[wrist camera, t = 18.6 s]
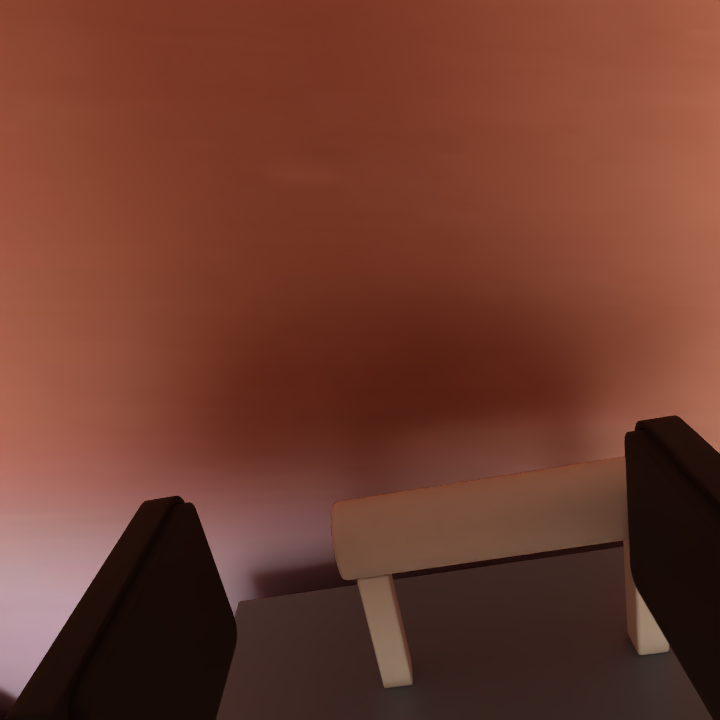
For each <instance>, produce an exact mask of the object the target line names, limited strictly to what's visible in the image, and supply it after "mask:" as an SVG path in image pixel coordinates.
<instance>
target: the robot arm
mask: <svg viewBox="0 0 720 720" xmlns="http://www.w3.org/2000/svg"><path fill="white" fill-rule="evenodd" d="M625 462H626V484H627V507H628V530H629V552H630V569H631V574H632V577H633V581H634V583H635V586H636V588H637V590H638V592H639V594H640V595H641V597H642V599H643V601H644V602H645V604H646V606H647V607H648V609H649V611H650V613H651V614H652V616H653V618H654V619H655V621H656V623H657V625H658V626H659V628H660V630H661V631H662V633H663V635H664V637H665V638H666V640H667V642H668V643H669V645H670V647H671V649H672V650H673V652H674V654H675V655H676V657H677V659H678V661H679V662H680V664H681V666H682V667H683V669H684V671H685V673H686V674H687V676H688V678H689V679H690V681H691V683H692V685H693V686H694V688H695V690H696V691H697V693H698V695H699V697H700V698H701V700H702V702H703V703H704V705H705V707H706V709H707V710H708V712H709V714H710V715H711V717H712V719H713V720H720V454H719V453H718V452H717V451H716V450H715V449H714V448H713V447H712V446H711V445H710V444H708V443H707V442H706V441H705V440H704V439H703V438H702V437H701V436H700V435H699V434H697V433H696V432H695V431H694V430H693V429H692V428H691V427H690V426H689V425H688V424H686V423H685V422H684V421H683V420H682V419H681V418H680V417H678V416H667V417H661V418H655V419H648V420H642V421H638V422H637V423H636V426H635V431H631V432H627V433H626V435H625ZM236 643H237V625H236V621H235V618H234V615H233V612H232V609H231V607H230V604H229V601H228V598H227V595H226V593H225V590H224V587H223V584H222V581H221V578H220V576H219V573H218V570H217V567H216V564H215V562H214V559H213V556H212V553H211V550H210V547H209V545H208V542H207V539H206V536H205V533H204V531H203V528H202V525H201V522H200V519H199V516H198V514H197V511H196V508H195V506H194V505H193V504H192V503H190V502H188V503H185V502H184V500H183V499H182V498H181V497H179V496H172V497H166V498H160V499H154V500H148V501H144V502H143V504H142V505H141V506H140V507H139V509H138V511H137V512H136V514H135V515H134V517H133V518H132V520H131V522H130V523H129V525H128V526H127V528H126V529H125V531H124V533H123V534H122V536H121V537H120V539H119V540H118V542H117V544H116V545H115V547H114V548H113V550H112V551H111V553H110V555H109V556H108V558H107V559H106V561H105V562H104V564H103V566H102V567H101V569H100V570H99V572H98V573H97V575H96V577H95V578H94V580H93V581H92V583H91V584H90V586H89V588H88V589H87V591H86V592H85V594H84V595H83V597H82V598H81V600H80V602H79V603H78V605H77V606H76V608H75V609H74V611H73V613H72V614H71V616H70V617H69V619H68V620H67V622H66V624H65V625H64V627H63V628H62V630H61V631H60V633H59V635H58V636H57V638H56V639H55V641H54V642H53V644H52V646H51V647H50V649H49V650H48V652H47V653H46V655H45V657H44V658H43V660H42V661H41V663H40V664H39V666H38V668H37V669H36V671H35V672H34V674H33V675H32V677H31V679H30V680H29V682H28V683H27V685H26V686H25V688H24V689H23V691H22V693H21V694H20V696H19V697H18V699H17V700H16V702H15V704H14V705H13V707H12V708H11V710H10V711H9V713H8V715H7V716H6V720H216V717H217V714H218V710H219V706H220V703H221V699H222V695H223V692H224V688H225V684H226V681H227V677H228V673H229V670H230V666H231V662H232V659H233V655H234V651H235V648H236Z"/></svg>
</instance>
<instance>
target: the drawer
mask: <svg viewBox="0 0 720 720" xmlns="http://www.w3.org/2000/svg"><path fill="white" fill-rule="evenodd" d="M331 533H332V543H333V549H334V555H335V560H336V564H337V567H338V570H339V573H340V575H341V577H342V578H343V579H345V580H352V579H357V583H358V585H352V586H345V587H338V588H331V589H324V590H317V591H310V592H303V593H296V594H289V595H282V596H275V597H268V598H261V599H254V600H247V601H241V602H239V604H238V607H237V610H236V614H235V617H234V618H235V621H236V625H237V643H236V648H235V651H234V655H233V659H232V662H231V666H230V670H229V673H228V677H227V681H226V684H225V688H224V692H223V695H222V699H221V703H220V706H219V710H218V714H217V717H216V720H713V719H712V717H711V715H710V714H709V712H708V710H707V709H706V707H705V705H704V703H703V702H702V700H701V698H700V697H699V695H698V693H697V691H696V690H695V688H694V686H693V685H692V683H691V681H690V679H689V678H688V676H687V674H686V673H685V671H684V669H683V667H682V666H681V664H680V662H679V661H678V659H677V657H676V655H675V654H674V652H673V650H672V649H671V647H670V645H669V643H668V642H667V640H666V638H665V637H664V635H663V633H662V631H661V630H660V628H659V626H658V625H657V623H656V621H655V619H654V618H653V616H652V614H651V613H650V611H649V609H648V607H647V606H646V604H645V602H644V601H643V599H642V597H641V595H640V594H639V592H638V590H637V588H636V586H635V583H634V581H633V577H632V574H631V569H630V552H629V530H628V507H627V484H626V462H625V456H624V457H618V458H611V459H605V460H599V461H592V462H586V463H580V464H573V465H567V466H561V467H554V468H548V469H541V470H535V471H529V472H522V473H516V474H510V475H503V476H497V477H491V478H484V479H478V480H471V481H465V482H459V483H452V484H446V485H440V486H433V487H427V488H421V489H414V490H408V491H401V492H395V493H389V494H382V495H376V496H370V497H363V498H357V499H351V500H344V501H338V502H336V503H334V504H333V507H332V512H331ZM622 540H623V547H617V548H610V549H603V550H596V551H589V552H582V553H575V554H568V555H561V556H554V557H547V558H540V559H533V560H526V561H519V562H512V563H505V564H498V565H491V566H484V567H477V568H470V569H463V570H456V571H449V572H442V573H435V574H428V575H421V576H414V577H407V578H400V579H393V577H392V574H393V573H400V572H407V571H414V570H421V569H428V568H435V567H442V566H449V565H456V564H463V563H469V562H476V561H483V560H490V559H497V558H504V557H511V556H518V555H525V554H532V553H539V552H546V551H553V550H560V549H567V548H574V547H580V546H587V545H594V544H601V543H608V542H615V541H622Z"/></svg>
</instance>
